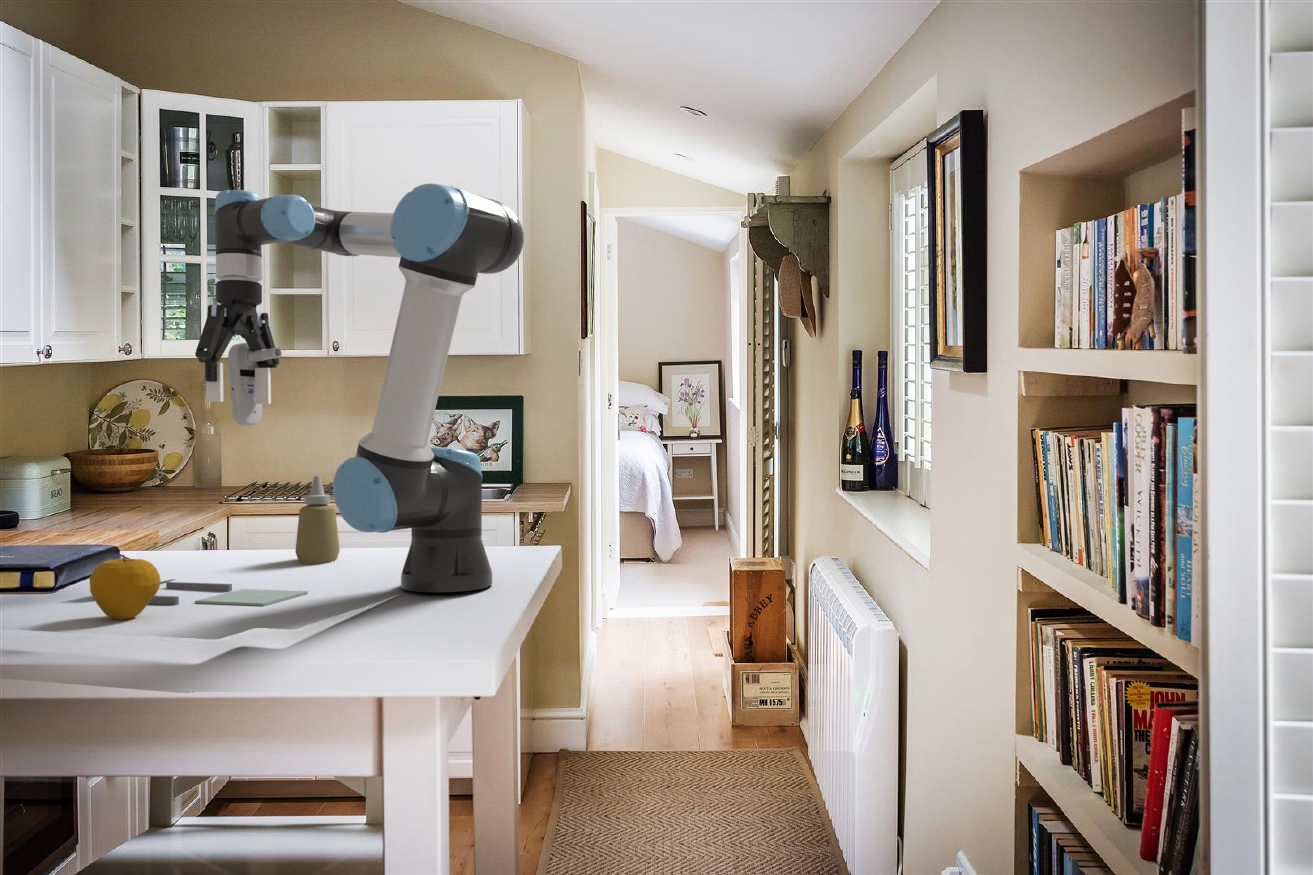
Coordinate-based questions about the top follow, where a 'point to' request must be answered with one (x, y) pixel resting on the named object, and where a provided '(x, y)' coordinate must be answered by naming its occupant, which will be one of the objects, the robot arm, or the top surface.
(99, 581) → the apple
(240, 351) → the electronic device
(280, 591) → the mat
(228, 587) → the dock
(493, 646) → the top surface
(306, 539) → the squeeze bottle
